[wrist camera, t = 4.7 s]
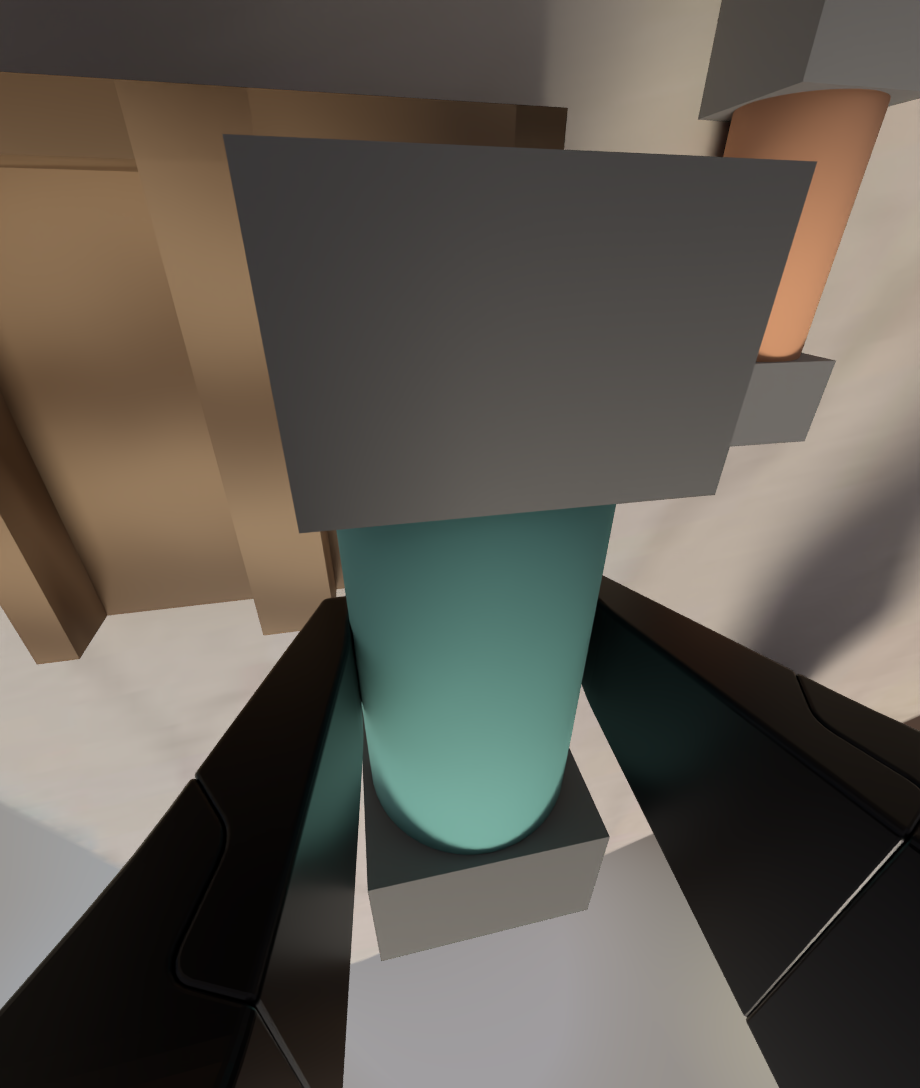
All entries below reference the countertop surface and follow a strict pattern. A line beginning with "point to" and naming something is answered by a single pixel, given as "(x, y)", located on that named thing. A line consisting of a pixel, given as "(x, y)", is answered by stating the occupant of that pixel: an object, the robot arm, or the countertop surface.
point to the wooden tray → (159, 348)
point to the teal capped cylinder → (495, 458)
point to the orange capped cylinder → (806, 157)
